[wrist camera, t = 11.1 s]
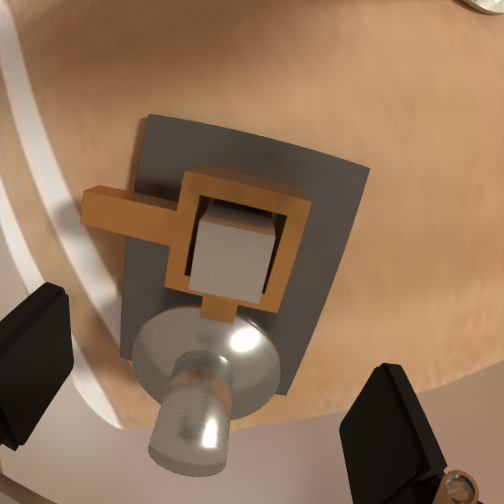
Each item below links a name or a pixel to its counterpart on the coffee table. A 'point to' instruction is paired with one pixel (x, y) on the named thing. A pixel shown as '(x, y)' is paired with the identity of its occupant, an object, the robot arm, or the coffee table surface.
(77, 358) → the coffee table surface
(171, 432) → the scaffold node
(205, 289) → the grey block
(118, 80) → the coffee table surface
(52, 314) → the robot arm
